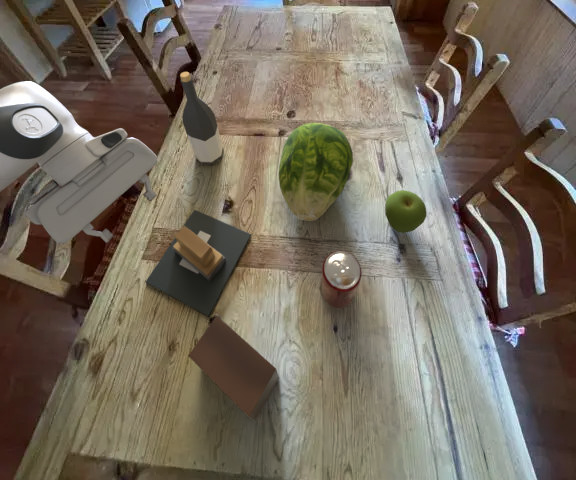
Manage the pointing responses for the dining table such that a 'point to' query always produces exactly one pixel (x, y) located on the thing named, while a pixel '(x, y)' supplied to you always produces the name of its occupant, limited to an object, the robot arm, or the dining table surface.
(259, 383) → the walnut block
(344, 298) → the soda can
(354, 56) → the dining table surface
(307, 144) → the lettuce
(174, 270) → the slate board
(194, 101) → the wine bottle
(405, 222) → the apple
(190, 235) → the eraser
